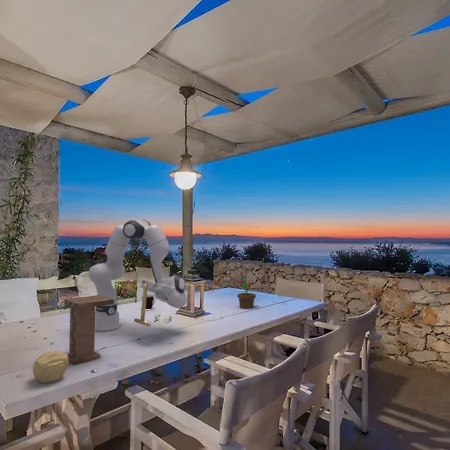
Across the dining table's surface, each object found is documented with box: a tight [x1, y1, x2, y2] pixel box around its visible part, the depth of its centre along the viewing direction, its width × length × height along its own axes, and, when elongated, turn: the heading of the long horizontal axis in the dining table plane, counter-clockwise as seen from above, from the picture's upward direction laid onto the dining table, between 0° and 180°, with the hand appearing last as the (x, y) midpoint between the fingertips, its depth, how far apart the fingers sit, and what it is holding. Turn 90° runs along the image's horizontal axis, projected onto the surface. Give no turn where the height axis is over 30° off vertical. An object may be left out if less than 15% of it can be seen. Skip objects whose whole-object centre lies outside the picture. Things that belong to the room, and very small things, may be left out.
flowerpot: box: [236, 269, 257, 310], centre depth 262 cm, size 14×14×30 cm
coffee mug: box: [141, 294, 156, 309], centre depth 252 cm, size 12×9×10 cm
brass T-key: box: [133, 282, 151, 327], centre depth 176 cm, size 14×22×2 cm
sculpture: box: [32, 349, 69, 384], centre depth 130 cm, size 11×12×11 cm
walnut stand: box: [64, 294, 114, 366], centre depth 155 cm, size 16×17×26 cm
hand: (144, 281), depth 177 cm, fingers closed on brass T-key, 2 cm apart
